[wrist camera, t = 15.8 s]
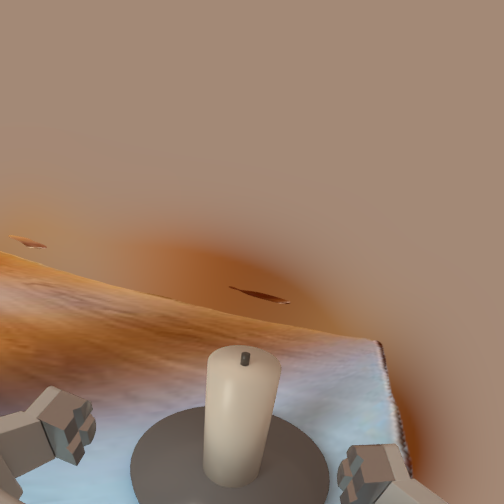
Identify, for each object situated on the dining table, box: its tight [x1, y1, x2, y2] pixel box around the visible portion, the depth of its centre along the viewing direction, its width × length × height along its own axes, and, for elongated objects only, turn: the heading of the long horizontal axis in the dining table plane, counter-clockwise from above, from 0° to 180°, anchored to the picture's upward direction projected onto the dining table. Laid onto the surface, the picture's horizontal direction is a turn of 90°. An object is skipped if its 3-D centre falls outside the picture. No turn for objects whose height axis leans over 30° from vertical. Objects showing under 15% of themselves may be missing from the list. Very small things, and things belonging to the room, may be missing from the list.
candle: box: [203, 345, 281, 488], centre depth 22 cm, size 5×5×13 cm
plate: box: [130, 406, 330, 504], centre depth 24 cm, size 18×18×1 cm
